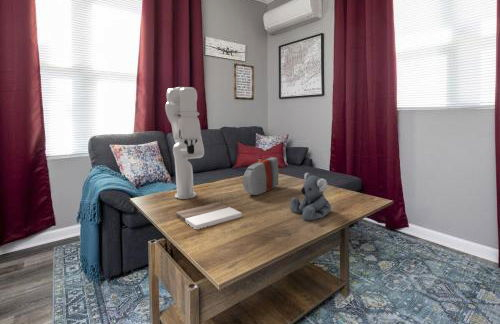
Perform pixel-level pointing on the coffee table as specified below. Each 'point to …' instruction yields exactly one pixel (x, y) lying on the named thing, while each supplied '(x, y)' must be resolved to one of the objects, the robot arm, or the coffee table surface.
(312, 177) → the koala plush
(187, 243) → the coffee table surface
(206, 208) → the walnut plank
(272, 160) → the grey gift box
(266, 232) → the coffee table surface
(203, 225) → the off-white plank
